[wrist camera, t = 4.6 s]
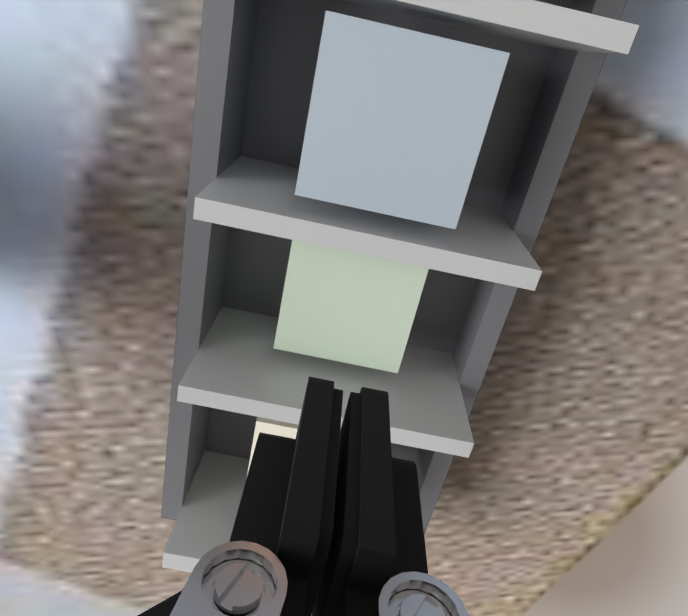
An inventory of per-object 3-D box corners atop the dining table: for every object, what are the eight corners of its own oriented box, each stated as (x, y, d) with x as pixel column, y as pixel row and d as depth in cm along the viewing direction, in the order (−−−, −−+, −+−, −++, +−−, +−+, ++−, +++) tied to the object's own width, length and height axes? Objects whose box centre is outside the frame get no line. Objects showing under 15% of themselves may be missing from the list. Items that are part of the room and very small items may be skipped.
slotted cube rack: (282, -387, 14) (220, -685, 8) (686, -279, 15) (894, -487, 9) (192, 446, 27) (140, 563, 21) (416, 489, 27) (428, 615, 21)
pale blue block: (333, 14, 16) (325, 10, 13) (486, 50, 16) (509, 53, 13) (306, 170, 17) (294, 194, 15) (442, 200, 18) (455, 229, 15)
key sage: (304, 202, 20) (294, 228, 17) (424, 228, 20) (432, 257, 17) (285, 310, 22) (273, 348, 19) (394, 332, 22) (397, 373, 19)
